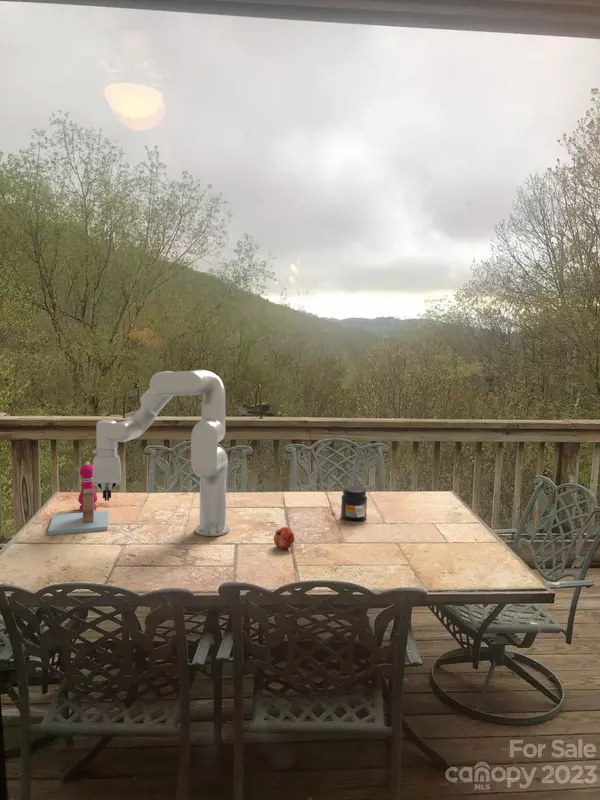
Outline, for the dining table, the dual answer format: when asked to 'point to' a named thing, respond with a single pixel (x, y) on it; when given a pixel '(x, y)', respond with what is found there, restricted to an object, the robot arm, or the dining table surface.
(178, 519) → the dining table surface
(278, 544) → the pomegranate
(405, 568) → the dining table surface
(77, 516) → the board
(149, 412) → the robot arm
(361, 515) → the supplement container
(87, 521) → the walnut slab
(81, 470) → the pepper mill
